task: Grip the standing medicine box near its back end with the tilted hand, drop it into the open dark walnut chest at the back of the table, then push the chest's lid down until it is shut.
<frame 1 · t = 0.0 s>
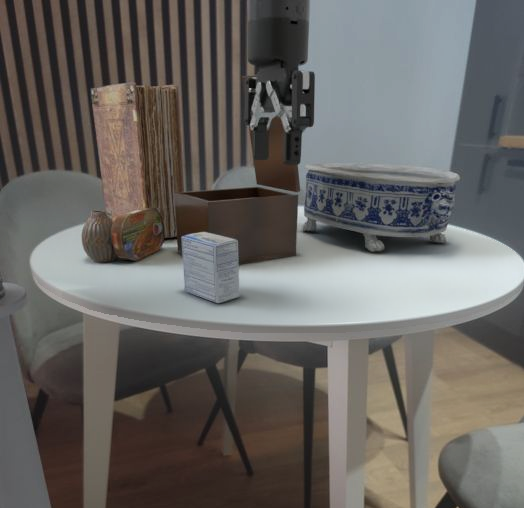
hand: (275, 162, 67), 19 cm above the table, tool pointing down, fingers open, 8 cm apart
vase: (104, 260, 93), on the table
chest: (236, 253, 97), on the table
book: (144, 231, 116), on the table
decorative bowl: (370, 237, 113), on the table
medicine box: (211, 296, 75), on the table
tin: (141, 256, 96), on the table
lid: (271, 133, 92), point 22 cm above the table, hinge at 80.0°
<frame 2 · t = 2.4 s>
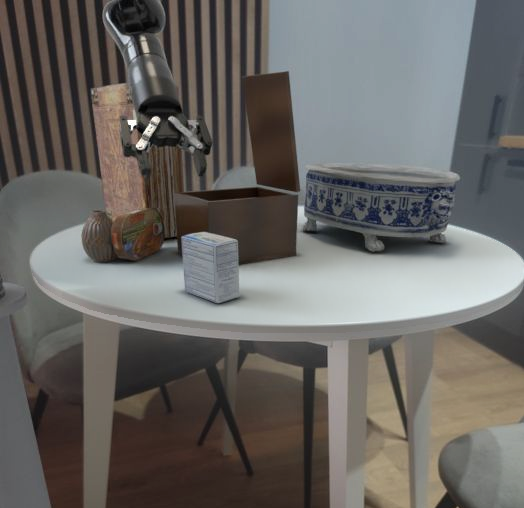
hand: (175, 174, 78), 16 cm above the table, tool tilted 45°, fingers open, 8 cm apart
nothing on the table moved.
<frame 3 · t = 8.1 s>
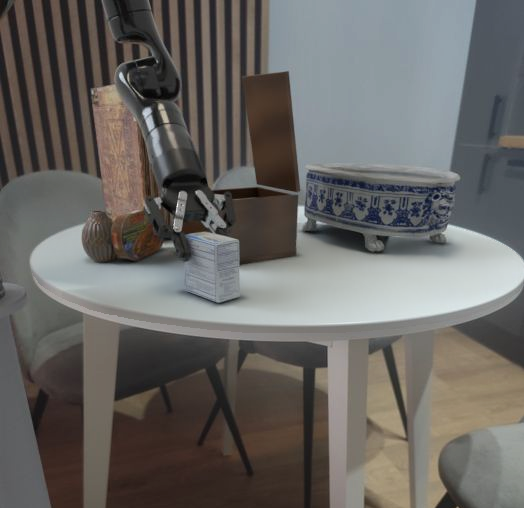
hand: (207, 256, 72), 6 cm above the table, tool tilted 45°, fingers closed on medicine box, 5 cm apart
medicine box: (211, 296, 74), on the table, touching gripper
everything else where it was.
when the fingers open (17 cm above the table, at t = 17.4 s): medicine box drops 10 cm, resting on chest.
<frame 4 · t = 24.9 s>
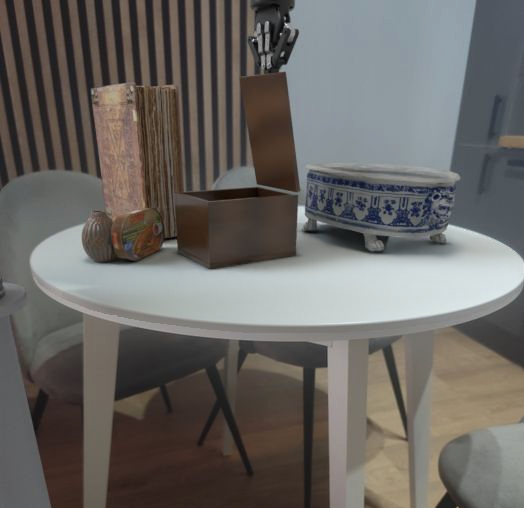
hand: (271, 93, 89), 28 cm above the table, tool pointing down, fingers closed
medicine box: (227, 251, 96), point 1 cm above the table, touching chest
lid: (269, 134, 92), point 21 cm above the table, hinge at 78.3°
everything else where it was.
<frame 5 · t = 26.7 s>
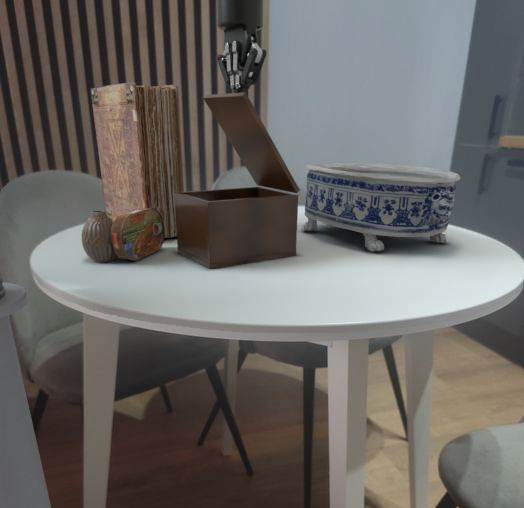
hand: (240, 113, 87), 25 cm above the table, tool pointing down, fingers closed
lid: (252, 144, 91), point 20 cm above the table, hinge at 53.4°, touching gripper
everything else where it was.
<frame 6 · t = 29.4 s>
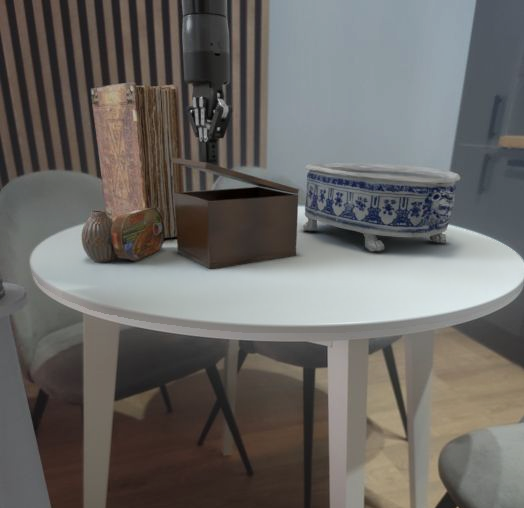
hand: (210, 164, 88), 17 cm above the table, tool pointing down, fingers closed
lid: (235, 175, 91), point 15 cm above the table, hinge at 15.4°, touching gripper
everything else where it was.
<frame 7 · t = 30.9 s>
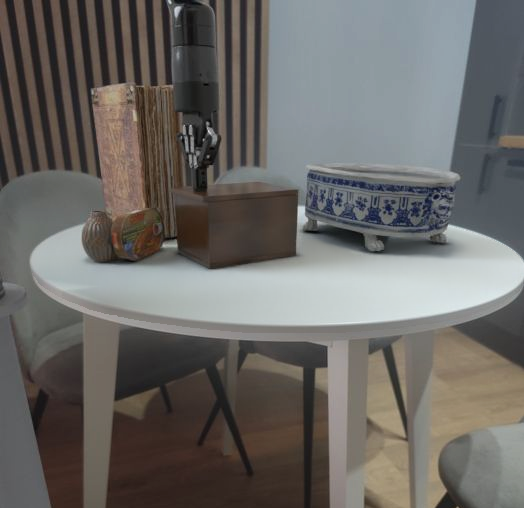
hand: (200, 190, 88), 12 cm above the table, tool pointing down, fingers closed
lid: (233, 190, 92), point 12 cm above the table, hinge at 0.0°, touching gripper
everything else where it was.
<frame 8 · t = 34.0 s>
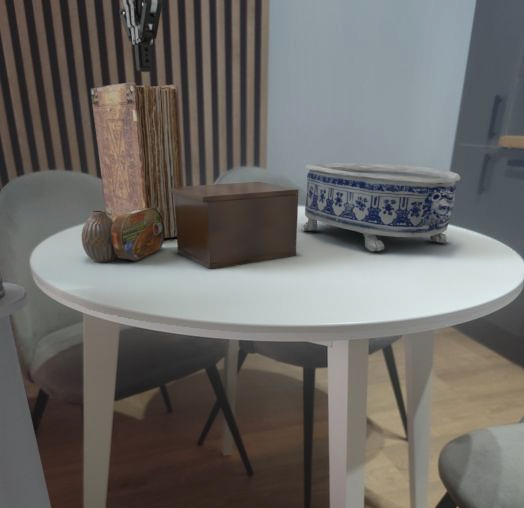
hand: (144, 71, 82), 31 cm above the table, tool pointing down, fingers closed
lid: (233, 190, 92), point 12 cm above the table, hinge at 0.0°
everything else where it was.
at the end: medicine box inside the target area in the chest (2.0 cm from its centre), point 0.7 cm above the chest's base; lid at +0° (first picture: +80°) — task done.
